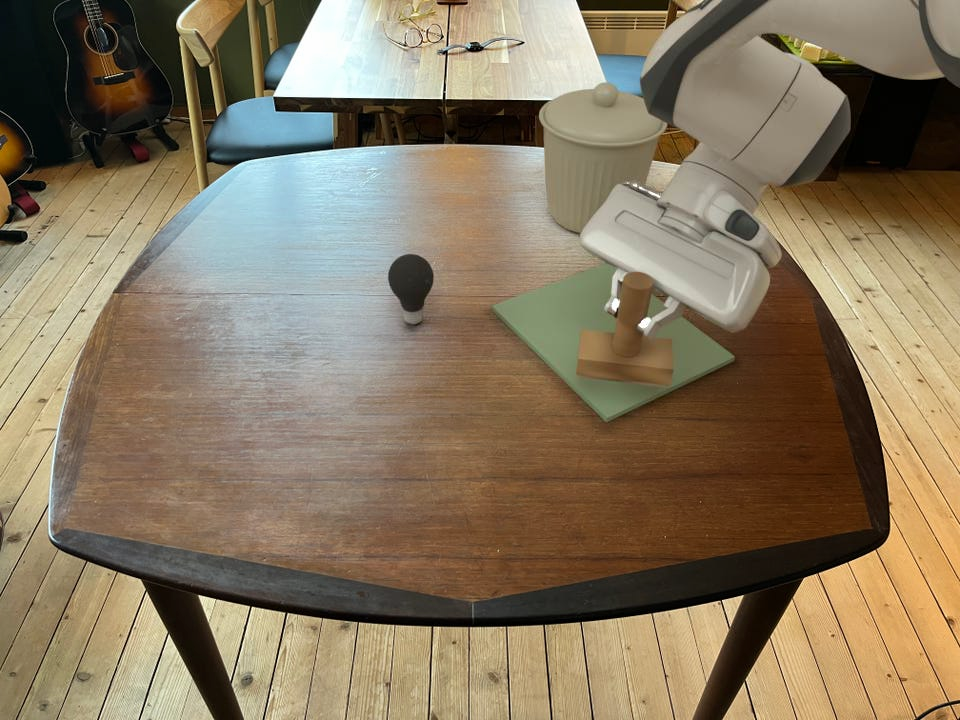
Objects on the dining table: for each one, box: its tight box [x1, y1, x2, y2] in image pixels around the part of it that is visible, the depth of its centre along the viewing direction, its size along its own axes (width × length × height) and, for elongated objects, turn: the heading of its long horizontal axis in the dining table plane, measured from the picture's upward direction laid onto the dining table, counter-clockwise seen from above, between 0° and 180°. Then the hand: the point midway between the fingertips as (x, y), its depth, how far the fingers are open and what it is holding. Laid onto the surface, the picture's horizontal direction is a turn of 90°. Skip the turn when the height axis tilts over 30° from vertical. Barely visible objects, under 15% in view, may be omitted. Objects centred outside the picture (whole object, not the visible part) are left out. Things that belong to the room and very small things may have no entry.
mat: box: [491, 262, 736, 423], centre depth 93 cm, size 24×20×1 cm
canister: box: [538, 81, 668, 235], centre depth 108 cm, size 18×18×21 cm
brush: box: [576, 272, 674, 387], centre depth 77 cm, size 10×5×12 cm, turn 81°
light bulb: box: [387, 253, 435, 325], centre depth 92 cm, size 6×6×10 cm
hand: (627, 325), depth 76 cm, fingers closed on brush, 3 cm apart
